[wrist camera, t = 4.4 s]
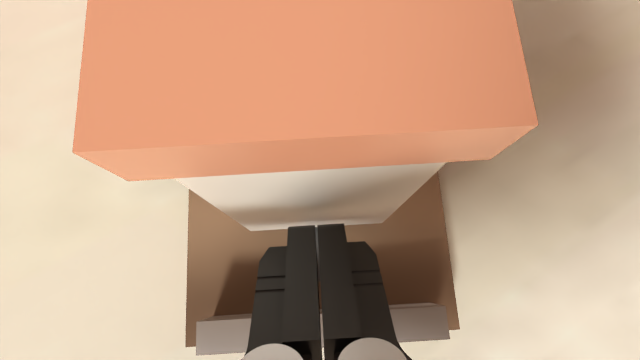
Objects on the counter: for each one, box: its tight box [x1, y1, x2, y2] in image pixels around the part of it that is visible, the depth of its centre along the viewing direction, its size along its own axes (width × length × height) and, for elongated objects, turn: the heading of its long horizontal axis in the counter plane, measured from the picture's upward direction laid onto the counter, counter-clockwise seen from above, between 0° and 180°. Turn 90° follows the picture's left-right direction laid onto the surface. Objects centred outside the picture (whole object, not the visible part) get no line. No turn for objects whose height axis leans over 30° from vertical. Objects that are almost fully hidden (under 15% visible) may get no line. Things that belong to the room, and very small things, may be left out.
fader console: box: [186, 171, 460, 355], centre depth 18 cm, size 28×10×4 cm, turn 4°
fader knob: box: [73, 0, 538, 231], centre depth 10 cm, size 5×6×10 cm
